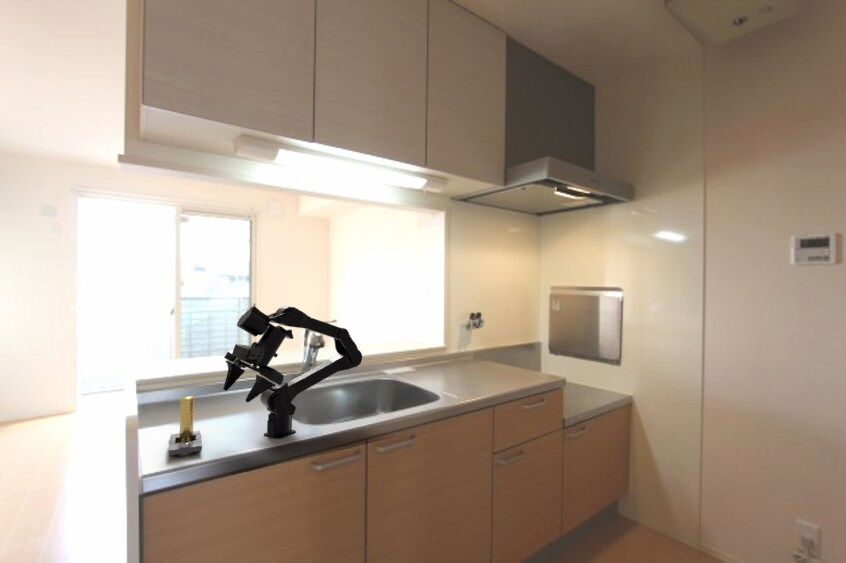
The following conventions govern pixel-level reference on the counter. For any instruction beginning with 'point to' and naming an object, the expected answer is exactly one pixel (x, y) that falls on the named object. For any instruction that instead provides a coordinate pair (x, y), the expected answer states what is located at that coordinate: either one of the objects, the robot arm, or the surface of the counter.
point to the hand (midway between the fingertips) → (235, 395)
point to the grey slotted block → (185, 445)
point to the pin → (186, 419)
